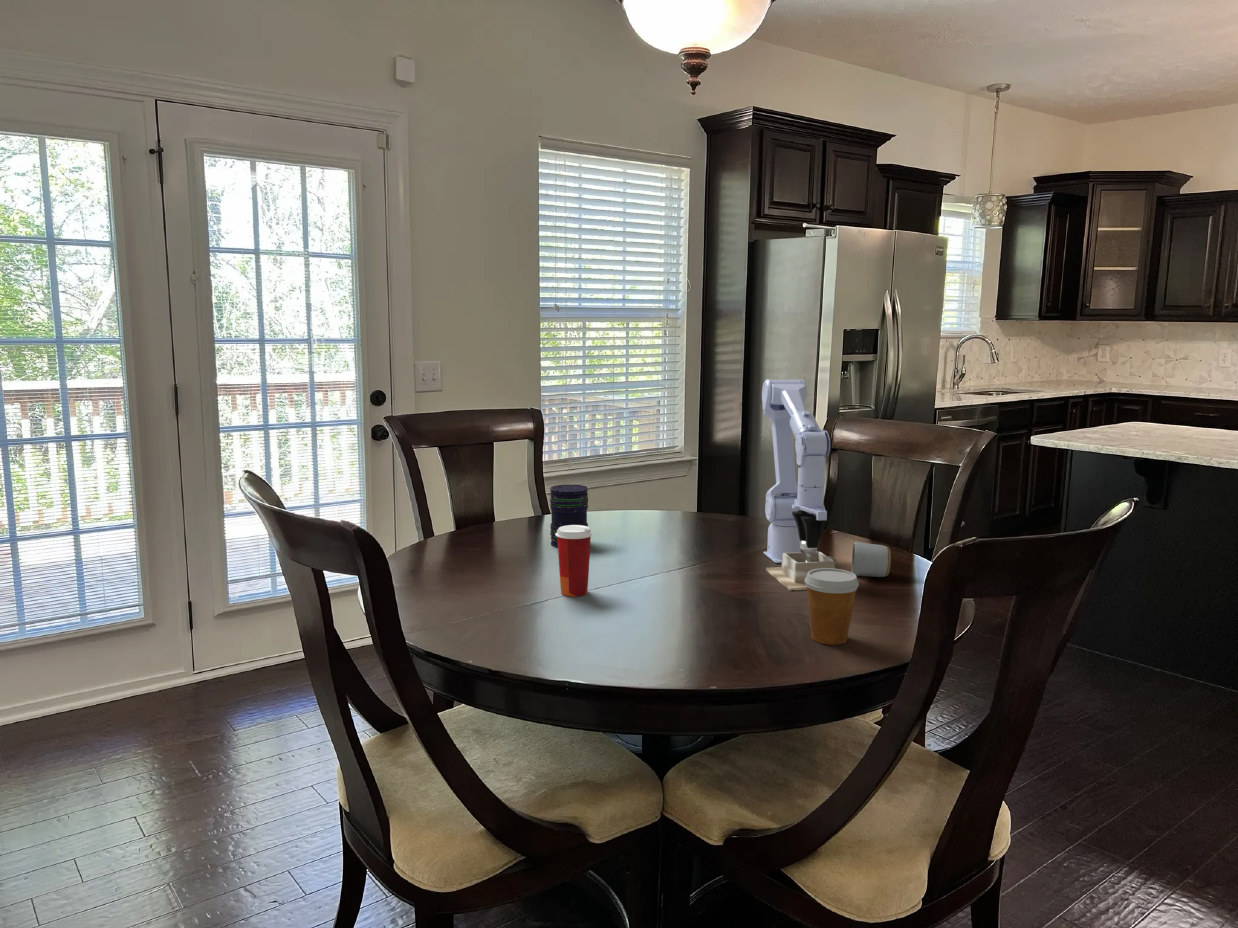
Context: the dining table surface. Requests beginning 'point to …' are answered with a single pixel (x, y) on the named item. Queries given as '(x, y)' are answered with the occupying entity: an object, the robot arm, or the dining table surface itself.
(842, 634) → the disposable coffee cup
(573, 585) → the paper cup
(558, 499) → the storage jar
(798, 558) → the base
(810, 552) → the plunger
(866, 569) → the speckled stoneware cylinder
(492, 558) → the dining table surface
